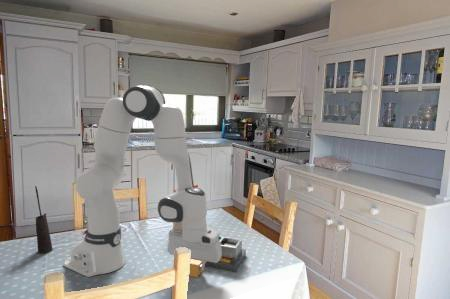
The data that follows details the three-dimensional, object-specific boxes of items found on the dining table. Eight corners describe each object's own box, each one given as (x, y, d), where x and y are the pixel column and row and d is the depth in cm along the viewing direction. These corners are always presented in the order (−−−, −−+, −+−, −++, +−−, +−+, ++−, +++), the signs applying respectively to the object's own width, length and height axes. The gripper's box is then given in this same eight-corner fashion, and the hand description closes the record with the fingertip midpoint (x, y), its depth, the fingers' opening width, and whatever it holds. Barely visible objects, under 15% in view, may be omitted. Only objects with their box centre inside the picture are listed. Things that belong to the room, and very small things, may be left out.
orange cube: (185, 274, 113) (185, 264, 112) (191, 268, 117) (191, 258, 116) (197, 277, 111) (197, 266, 111) (202, 271, 115) (202, 261, 115)
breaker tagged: (220, 255, 121) (220, 248, 121) (225, 250, 126) (225, 243, 126) (233, 258, 120) (233, 250, 119) (236, 252, 124) (237, 245, 124)
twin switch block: (186, 262, 122) (186, 243, 121) (201, 246, 135) (201, 229, 134) (235, 272, 115) (236, 252, 114) (245, 255, 128) (246, 237, 127)
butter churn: (48, 242, 136) (43, 180, 132) (64, 246, 132) (60, 182, 128) (28, 252, 127) (22, 185, 123) (45, 256, 124) (40, 188, 120)
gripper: (164, 231, 112) (164, 267, 114) (217, 240, 106) (216, 278, 108) (173, 225, 118) (173, 259, 120) (223, 233, 111) (223, 269, 114)
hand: (194, 268), depth 114 cm, fingers closed on orange cube, 4 cm apart
